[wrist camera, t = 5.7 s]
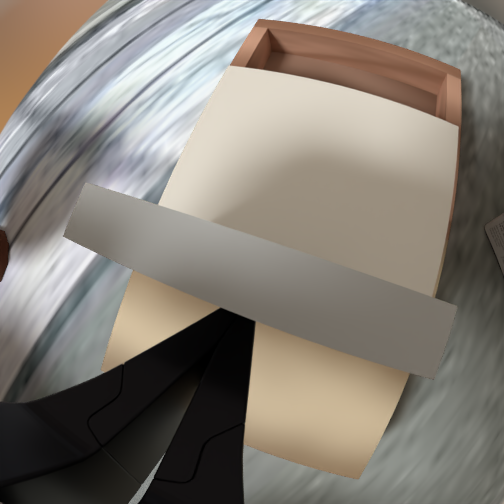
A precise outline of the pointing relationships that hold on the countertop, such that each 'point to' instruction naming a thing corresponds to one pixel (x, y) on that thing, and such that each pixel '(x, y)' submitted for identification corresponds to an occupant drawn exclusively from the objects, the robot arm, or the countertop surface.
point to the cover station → (279, 342)
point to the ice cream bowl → (3, 253)
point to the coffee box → (497, 237)
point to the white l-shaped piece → (300, 217)
